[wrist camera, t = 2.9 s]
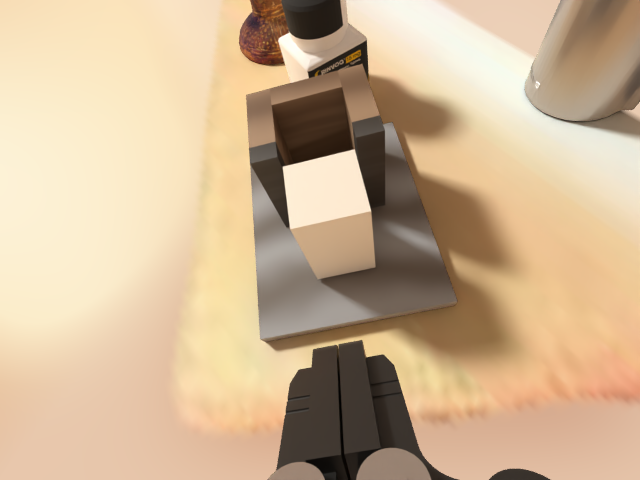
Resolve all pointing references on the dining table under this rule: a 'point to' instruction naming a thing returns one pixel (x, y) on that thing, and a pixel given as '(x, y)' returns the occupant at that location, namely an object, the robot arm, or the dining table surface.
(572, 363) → the dining table surface
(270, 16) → the bell
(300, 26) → the medicine bottle
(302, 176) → the peg
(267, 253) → the u-shaped block stand
